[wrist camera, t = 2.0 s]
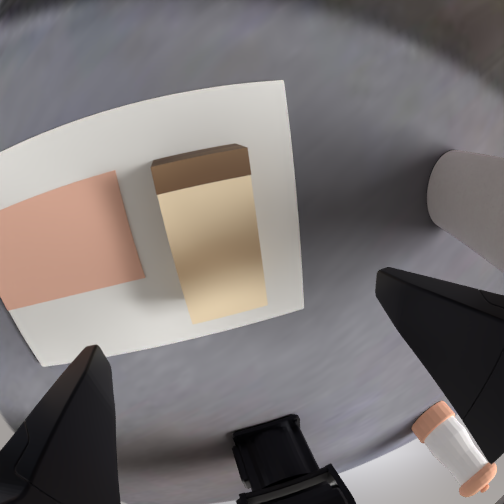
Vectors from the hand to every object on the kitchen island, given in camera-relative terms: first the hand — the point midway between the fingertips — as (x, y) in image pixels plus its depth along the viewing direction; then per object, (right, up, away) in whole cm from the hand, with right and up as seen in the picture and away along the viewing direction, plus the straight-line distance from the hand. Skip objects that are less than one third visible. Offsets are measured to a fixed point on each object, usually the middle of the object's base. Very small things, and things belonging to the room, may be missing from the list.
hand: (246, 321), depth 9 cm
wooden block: (-2, +3, +7) cm, 8 cm away
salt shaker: (+30, -25, +30) cm, 50 cm away
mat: (-7, +3, +7) cm, 10 cm away
